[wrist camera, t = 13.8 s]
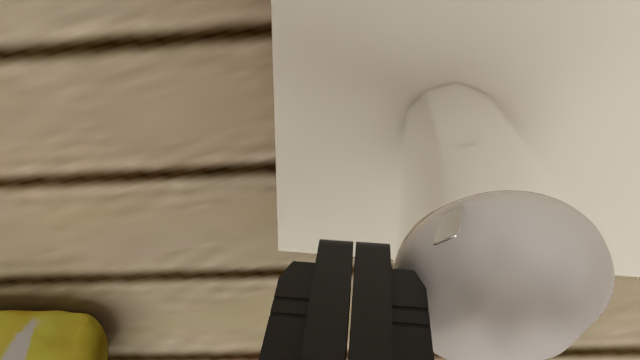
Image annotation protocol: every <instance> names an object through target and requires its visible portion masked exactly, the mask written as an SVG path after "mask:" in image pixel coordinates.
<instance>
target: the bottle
mask: <svg viewBox="0 0 640 360" xmlns="http://www.w3.org/2000/svg"><path fill="white" fill-rule="evenodd" d="M108 353H109V352H108V340H107V337H106V334H105V332H104V330H103V328H102V326H101V325H100V323H99V322H98V321H97V320H96V319H95V318H94V317H92V316H91V315H89V314H85V313H71V312H66V311H59V310H54V311H22V310H6V311H0V360H108Z"/></svg>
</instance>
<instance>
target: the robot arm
mask: <svg viewBox="0 0 640 360" xmlns="http://www.w3.org/2000/svg"><path fill="white" fill-rule="evenodd" d="M352 259H353V241H340V240H326V239H320V240H319V245H318V251H317V257H316V263H310V262H296V261H293V262H292V263H291V264H290V265H289V266H288V268H287V269H286V270H285V271H284V272H283V273H282V274H281V275H280V277H279V280H278V284H277V288H276V292H275V296H274V300H273V304H272V308H271V314H270V316H269V320H268V324H267V328H266V332H265V337H264V341H263V345H262V349H261V353H260V357H259V360H346V353H347V339H348V325H349V310H350V293H351V276H352ZM428 309H429V307H428V298H427V289H426V287H425V285H424V284H423V282H422V281H421V279H420V278H419V276H418V275H417V273H416V272H415V270H406V269H392V268H391V251H390V244H384V243H370V242H356V250H355V265H354V281H353V296H352V311H351V327H350V342H349V358H348V360H434V354H433V344H432V335H431V329H430V317H429V312H428Z"/></svg>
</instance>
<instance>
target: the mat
mask: <svg viewBox="0 0 640 360" xmlns="http://www.w3.org/2000/svg"><path fill="white" fill-rule="evenodd" d="M271 14H272V49H273V83H274V118H275V153H276V187H277V222H278V251H287V252H300V253H314V254H317V251H318V245H319V240H320V239H326V240H340V241H353V256H355V250H356V242H370V243H384V244H390V251H391V259H394V249H395V238H396V228H397V218H398V211H399V201H400V174H401V146H402V135H403V129H404V122H405V115H406V111H407V110H408V109H409V108H410V107H411V106H412V105H413V104H414V103H415V102H416V101H417V100H418V99H419V98H420V97H421V96H422V95H423V94H424V93H425V92H426V91H427V90H428V89H432V88H437V87H442V86H447V85H451V84H456V83H461V84H463V85H465V86H468V87H470V88H472V89H475V90H477V91H480V92H482V93H484V94H487V95H488V96H489V98H490V99H491V100H492V101H493V103H494V104H495V105H496V107H497V108H498V109H499V110H500V112H501V113H502V114H503V116H504V117H505V118H506V120H507V121H508V122H509V123H510V125H511V126H512V127H513V129H514V130H515V131H516V133H517V134H518V135H519V136H520V138H521V139H522V140H523V142H524V143H525V144H526V145H527V147H528V148H529V149H530V151H531V152H532V153H533V154H534V156H535V157H536V158H537V160H538V161H539V162H540V163H541V164H542V166H543V167H544V168H545V169H546V170H547V171H548V173H549V174H550V175H551V176H552V177H553V178H554V180H555V181H556V182H557V183H558V184H559V185H560V187H561V188H562V189H563V190H564V191H565V192H566V193H567V195H568V196H569V197H570V198H571V199H572V200H573V202H574V203H575V204H576V205H577V206H578V207H579V208H580V210H581V211H582V212H583V213H584V214H585V215H586V217H587V218H588V219H589V220H590V221H591V222H592V223H593V224H594V225H595V226H596V227H597V229H598V230H599V231H600V233H601V235H602V236H603V238H604V240H605V242H606V245H607V247H608V249H609V252H610V255H611V258H612V262H613V266H614V274H615V275H617V276H630V277H640V0H271Z"/></svg>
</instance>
